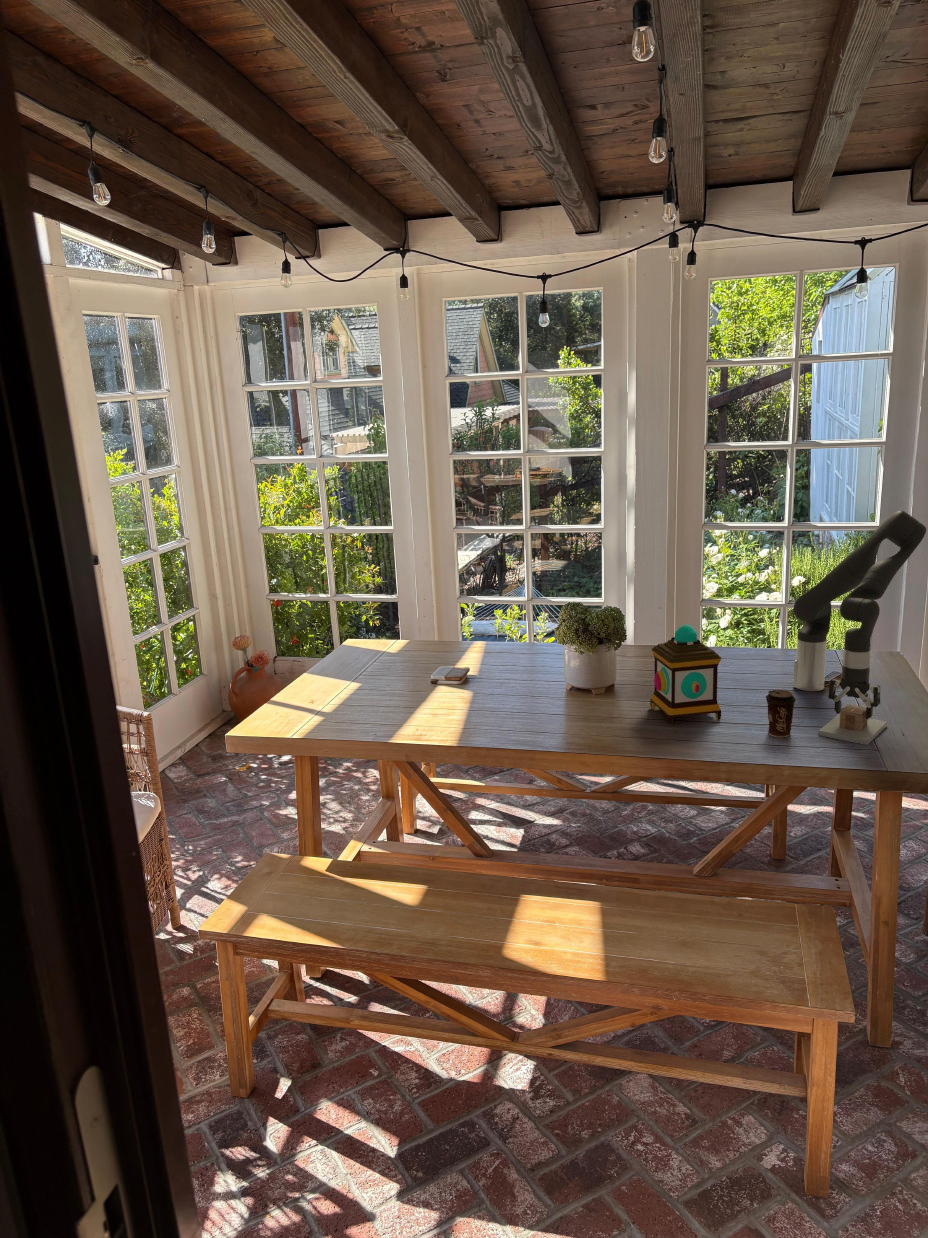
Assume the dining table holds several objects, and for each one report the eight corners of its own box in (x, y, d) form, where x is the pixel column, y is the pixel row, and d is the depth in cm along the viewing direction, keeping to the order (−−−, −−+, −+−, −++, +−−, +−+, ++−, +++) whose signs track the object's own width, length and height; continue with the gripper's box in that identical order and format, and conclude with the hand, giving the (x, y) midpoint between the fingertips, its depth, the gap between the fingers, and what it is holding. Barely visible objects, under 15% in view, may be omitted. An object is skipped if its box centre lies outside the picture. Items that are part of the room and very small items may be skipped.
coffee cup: (760, 729, 277) (762, 688, 274) (788, 728, 277) (790, 687, 274) (769, 739, 269) (770, 698, 266) (797, 738, 269) (799, 697, 266)
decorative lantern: (666, 728, 282) (667, 635, 275) (644, 707, 301) (644, 620, 294) (727, 721, 285) (729, 629, 278) (701, 701, 304) (703, 614, 297)
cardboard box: (846, 721, 276) (847, 704, 275) (867, 724, 273) (868, 707, 271) (839, 727, 272) (840, 710, 270) (860, 731, 268) (861, 714, 266)
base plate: (818, 735, 270) (818, 730, 270) (839, 717, 284) (839, 713, 283) (867, 745, 261) (867, 740, 261) (886, 726, 275) (886, 721, 274)
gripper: (885, 664, 266) (881, 716, 270) (836, 657, 275) (833, 707, 279) (877, 671, 260) (873, 724, 264) (827, 663, 269) (824, 714, 273)
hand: (852, 715), depth 271 cm, fingers open, 8 cm apart
